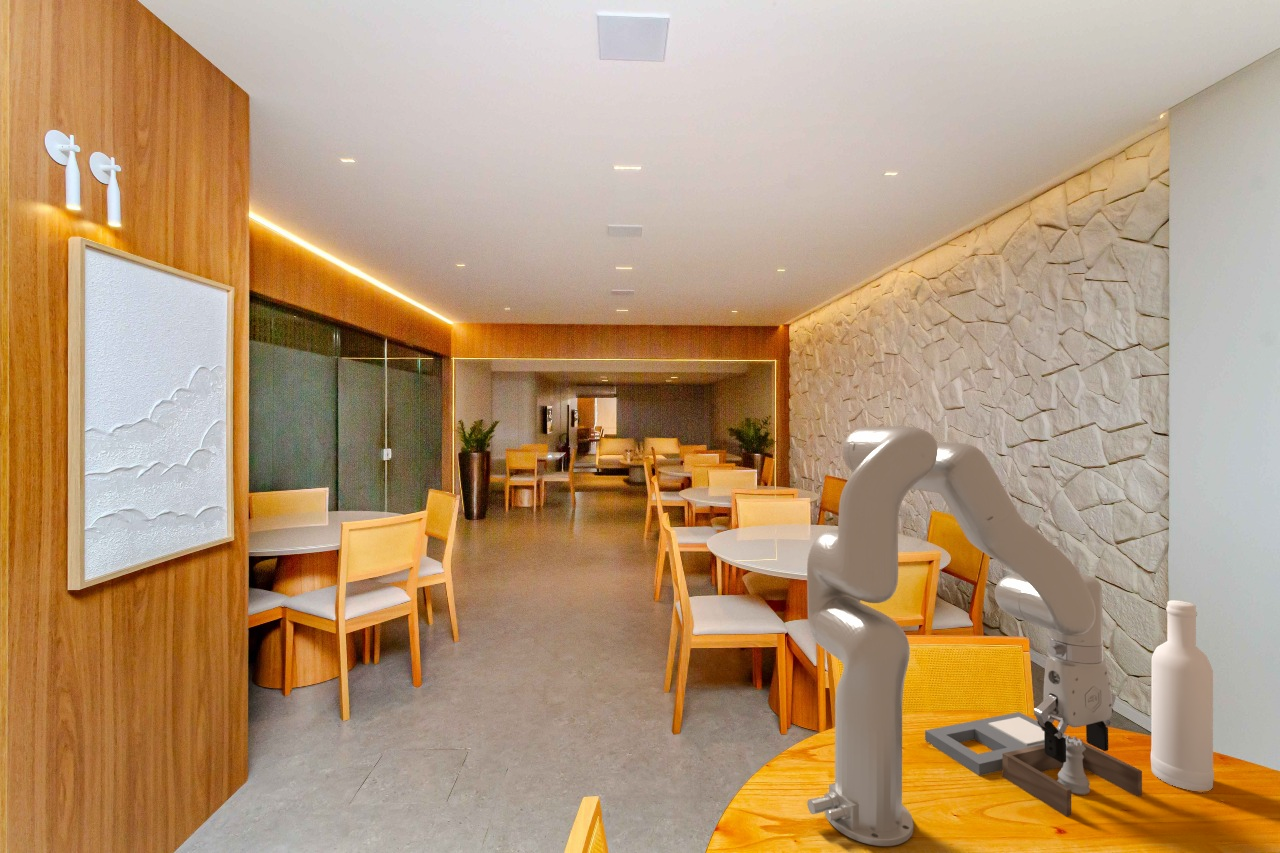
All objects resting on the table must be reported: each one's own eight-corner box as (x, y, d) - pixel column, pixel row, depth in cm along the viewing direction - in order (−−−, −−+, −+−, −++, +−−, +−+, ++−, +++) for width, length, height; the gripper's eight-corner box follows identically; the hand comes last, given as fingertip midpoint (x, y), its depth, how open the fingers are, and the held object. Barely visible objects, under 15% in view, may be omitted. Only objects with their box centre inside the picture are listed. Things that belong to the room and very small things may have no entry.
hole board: (979, 775, 102) (979, 762, 102) (925, 740, 113) (925, 728, 113) (1079, 752, 110) (1079, 739, 110) (1018, 721, 121) (1019, 710, 121)
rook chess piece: (1096, 797, 96) (1096, 748, 96) (1065, 794, 97) (1065, 744, 97) (1081, 781, 101) (1081, 734, 101) (1051, 778, 101) (1052, 731, 101)
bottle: (1204, 774, 103) (1204, 600, 103) (1221, 798, 96) (1221, 612, 96) (1144, 761, 107) (1144, 594, 107) (1157, 784, 100) (1157, 605, 100)
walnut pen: (1066, 816, 91) (1066, 790, 91) (1002, 776, 102) (1002, 753, 102) (1141, 795, 97) (1142, 770, 97) (1073, 759, 107) (1073, 737, 107)
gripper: (1059, 665, 93) (1061, 775, 93) (1135, 650, 98) (1137, 754, 98) (1015, 648, 100) (1017, 751, 100) (1088, 635, 105) (1090, 732, 105)
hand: (1076, 752), depth 99 cm, fingers open, 9 cm apart
